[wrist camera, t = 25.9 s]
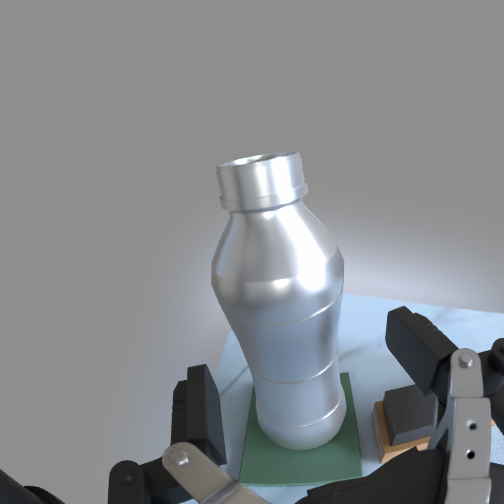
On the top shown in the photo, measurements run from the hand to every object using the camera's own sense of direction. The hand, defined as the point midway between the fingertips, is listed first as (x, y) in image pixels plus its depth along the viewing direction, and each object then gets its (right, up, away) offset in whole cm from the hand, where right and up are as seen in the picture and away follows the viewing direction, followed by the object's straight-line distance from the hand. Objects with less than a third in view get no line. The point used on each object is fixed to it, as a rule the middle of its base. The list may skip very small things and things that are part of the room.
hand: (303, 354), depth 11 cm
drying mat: (+2, -10, +9) cm, 14 cm away
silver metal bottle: (+2, -10, +9) cm, 13 cm away
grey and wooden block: (+14, -9, +5) cm, 18 cm away
